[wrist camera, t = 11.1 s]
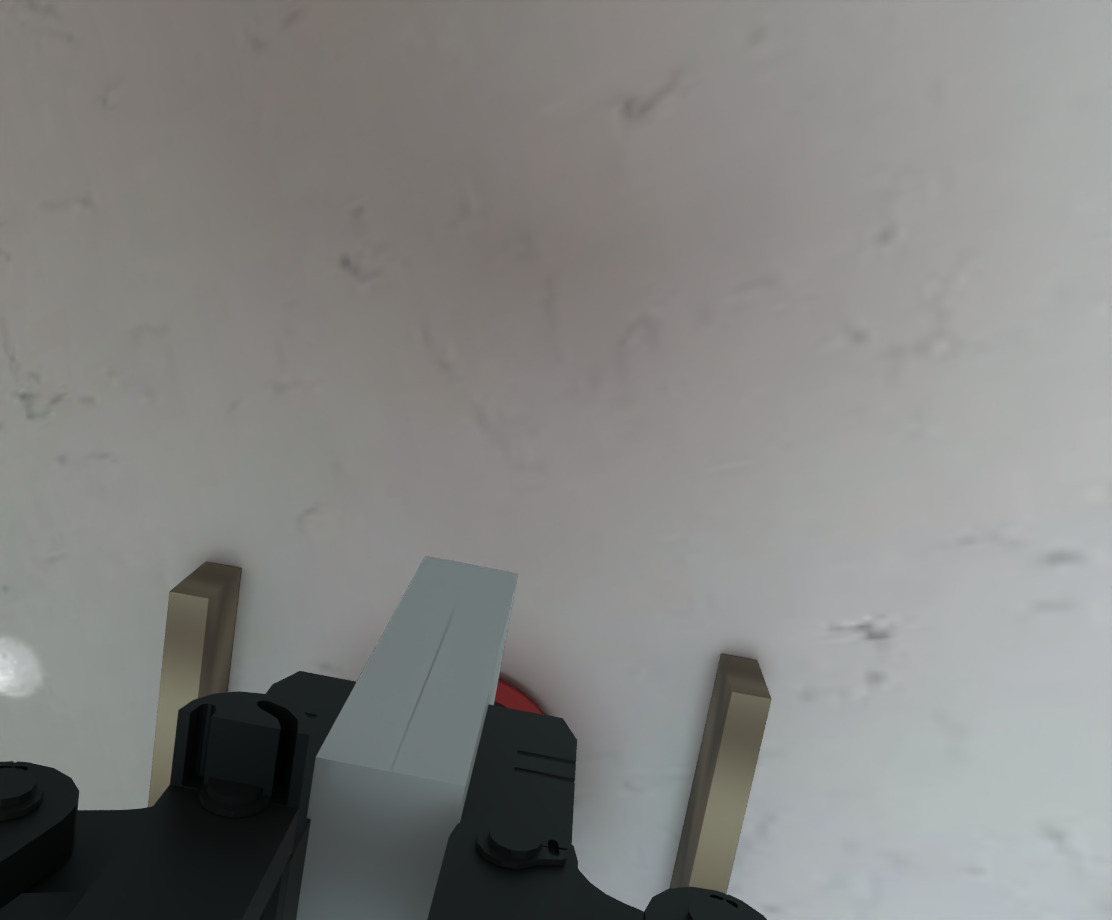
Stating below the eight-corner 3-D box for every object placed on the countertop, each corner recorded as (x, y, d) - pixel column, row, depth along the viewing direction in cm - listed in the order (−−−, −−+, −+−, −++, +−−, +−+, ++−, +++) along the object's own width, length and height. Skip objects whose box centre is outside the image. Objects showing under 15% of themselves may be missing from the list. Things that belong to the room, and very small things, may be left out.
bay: (205, 561, 35) (169, 591, 32) (756, 660, 35) (771, 699, 32) (162, 961, 38) (126, 1021, 35) (668, 1052, 38) (673, 1120, 35)
